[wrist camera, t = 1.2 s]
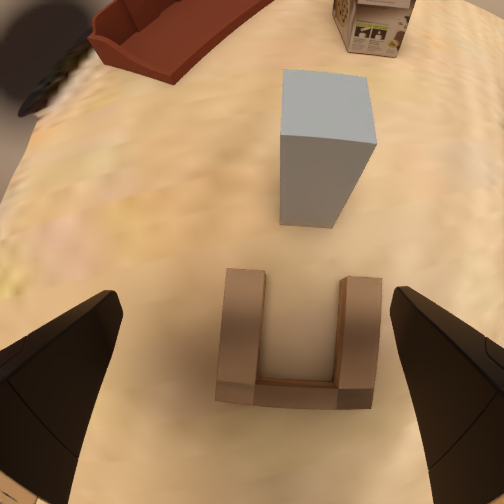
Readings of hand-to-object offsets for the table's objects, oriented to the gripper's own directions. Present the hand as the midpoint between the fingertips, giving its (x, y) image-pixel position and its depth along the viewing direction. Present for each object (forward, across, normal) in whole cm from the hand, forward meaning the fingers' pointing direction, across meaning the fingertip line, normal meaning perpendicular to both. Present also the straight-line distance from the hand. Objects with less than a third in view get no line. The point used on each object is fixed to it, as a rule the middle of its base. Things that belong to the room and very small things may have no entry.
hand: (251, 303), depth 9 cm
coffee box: (+30, -13, -15) cm, 36 cm away
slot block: (+9, -2, +10) cm, 13 cm away
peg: (+15, -3, +2) cm, 16 cm away
